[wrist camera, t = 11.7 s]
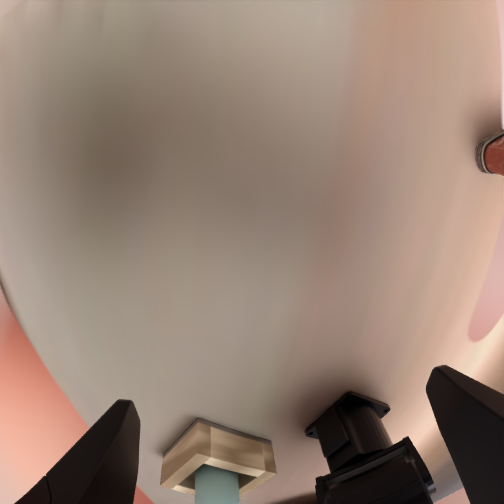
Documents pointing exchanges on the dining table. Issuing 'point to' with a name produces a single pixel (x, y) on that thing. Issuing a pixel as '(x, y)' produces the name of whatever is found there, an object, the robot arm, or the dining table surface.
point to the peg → (216, 486)
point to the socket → (217, 457)
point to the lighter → (491, 154)
